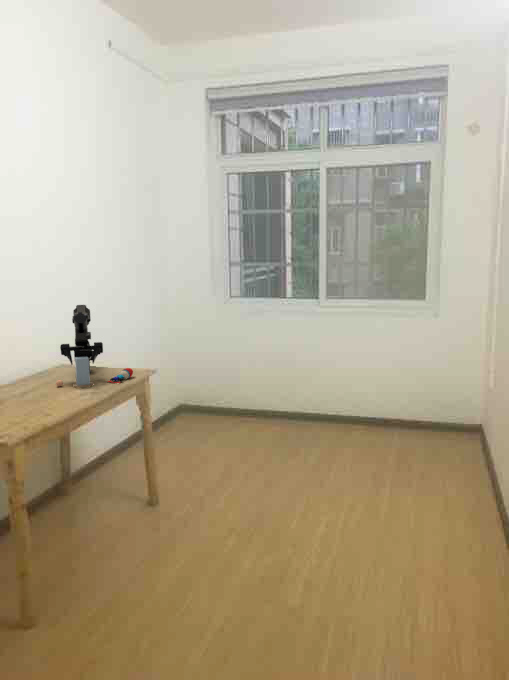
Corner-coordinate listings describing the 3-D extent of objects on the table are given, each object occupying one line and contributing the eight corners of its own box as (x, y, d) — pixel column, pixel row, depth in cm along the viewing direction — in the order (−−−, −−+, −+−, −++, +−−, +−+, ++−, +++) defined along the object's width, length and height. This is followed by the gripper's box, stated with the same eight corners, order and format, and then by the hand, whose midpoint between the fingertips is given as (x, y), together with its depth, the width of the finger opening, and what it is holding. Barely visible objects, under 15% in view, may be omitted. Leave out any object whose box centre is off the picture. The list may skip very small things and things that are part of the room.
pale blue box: (76, 383, 252) (74, 357, 250) (89, 382, 254) (87, 356, 252) (77, 385, 248) (75, 359, 246) (90, 384, 250) (88, 358, 248)
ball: (57, 385, 250) (56, 379, 249) (64, 385, 250) (63, 379, 249) (55, 387, 247) (54, 381, 246) (62, 387, 247) (61, 380, 246)
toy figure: (119, 387, 253) (138, 375, 266) (117, 377, 252) (136, 365, 265) (106, 387, 256) (126, 375, 269) (104, 377, 255) (123, 365, 268)
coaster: (76, 382, 255) (75, 381, 255) (95, 382, 255) (95, 381, 255) (70, 387, 246) (70, 386, 246) (91, 387, 247) (91, 386, 246)
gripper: (59, 326, 252) (59, 355, 244) (101, 325, 257) (103, 353, 249) (61, 340, 261) (61, 368, 253) (102, 338, 266) (103, 366, 258)
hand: (82, 363), depth 253 cm, fingers open, 9 cm apart
